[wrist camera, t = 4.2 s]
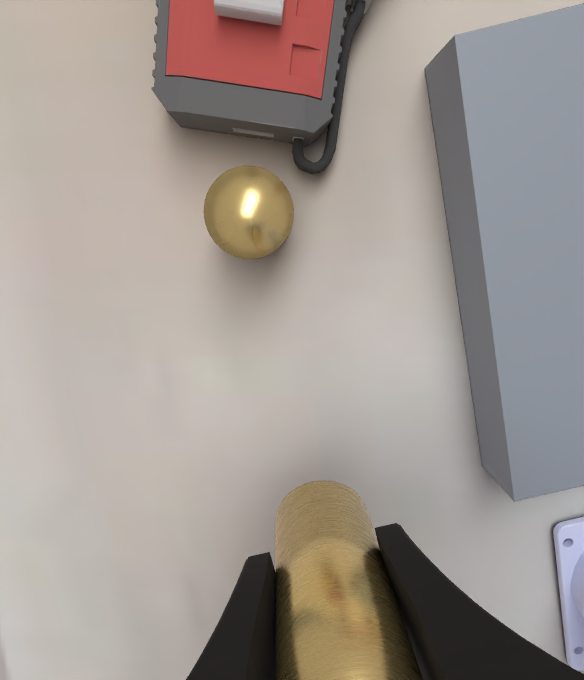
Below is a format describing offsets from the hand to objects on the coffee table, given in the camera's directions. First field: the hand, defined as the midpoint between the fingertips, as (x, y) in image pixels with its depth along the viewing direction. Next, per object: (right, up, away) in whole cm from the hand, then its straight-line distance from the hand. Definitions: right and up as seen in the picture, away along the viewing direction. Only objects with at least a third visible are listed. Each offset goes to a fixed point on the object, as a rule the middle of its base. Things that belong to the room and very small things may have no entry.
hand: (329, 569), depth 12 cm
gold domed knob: (-3, +12, +6) cm, 13 cm away
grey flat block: (+12, +10, +7) cm, 17 cm away
